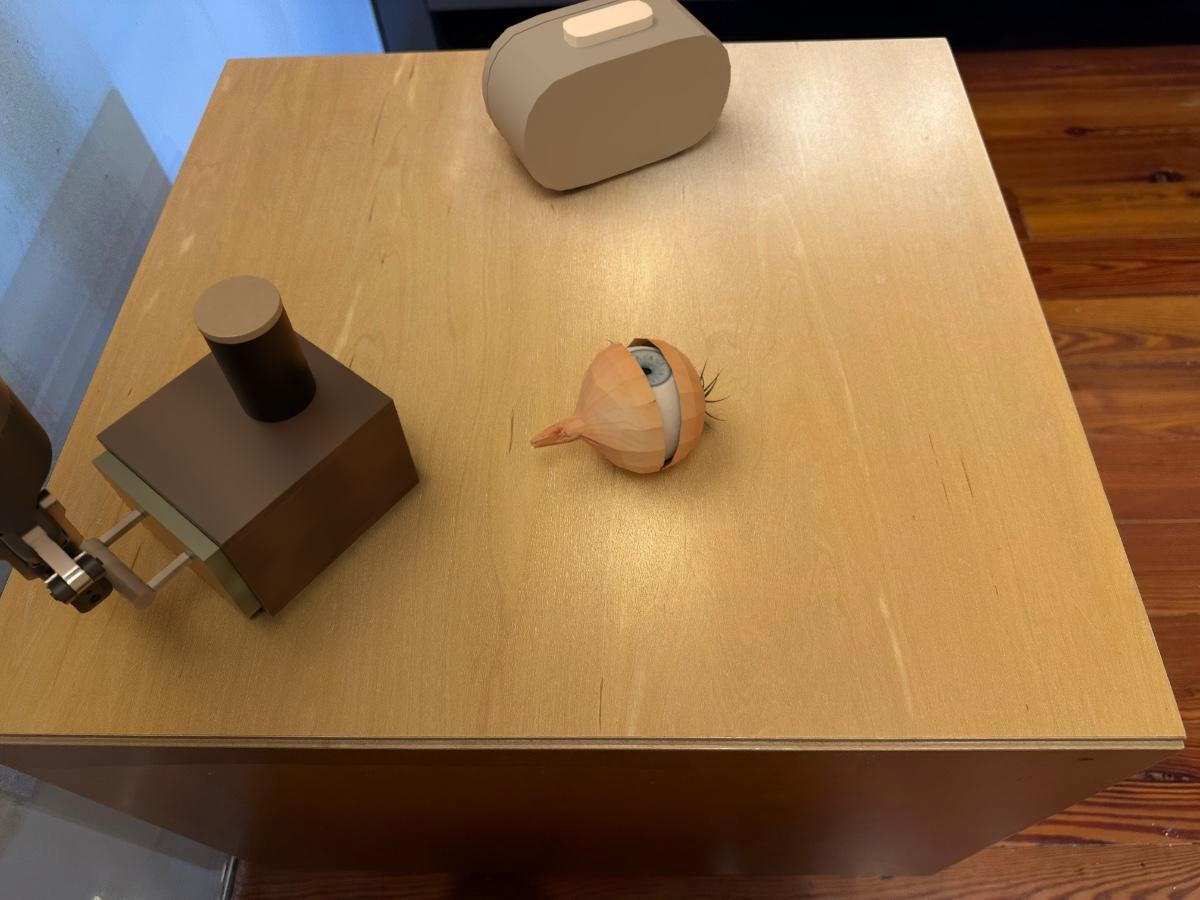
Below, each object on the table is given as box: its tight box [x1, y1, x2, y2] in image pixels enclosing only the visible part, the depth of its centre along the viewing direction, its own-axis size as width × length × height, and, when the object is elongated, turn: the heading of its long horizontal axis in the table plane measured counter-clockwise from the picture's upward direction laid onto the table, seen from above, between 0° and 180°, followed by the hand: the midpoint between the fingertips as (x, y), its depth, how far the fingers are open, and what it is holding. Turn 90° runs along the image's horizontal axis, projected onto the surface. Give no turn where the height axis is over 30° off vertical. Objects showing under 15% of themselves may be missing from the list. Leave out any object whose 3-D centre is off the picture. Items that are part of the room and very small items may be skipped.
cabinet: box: [95, 330, 420, 617], centre depth 62 cm, size 14×13×10 cm
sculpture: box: [529, 337, 730, 475], centre depth 64 cm, size 9×9×15 cm
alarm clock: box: [481, 0, 732, 192], centre depth 83 cm, size 21×10×13 cm, turn 117°
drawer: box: [80, 449, 262, 620], centre depth 60 cm, size 17×11×8 cm
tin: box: [192, 274, 316, 422], centre depth 56 cm, size 5×5×8 cm
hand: (93, 596), depth 55 cm, fingers closed
